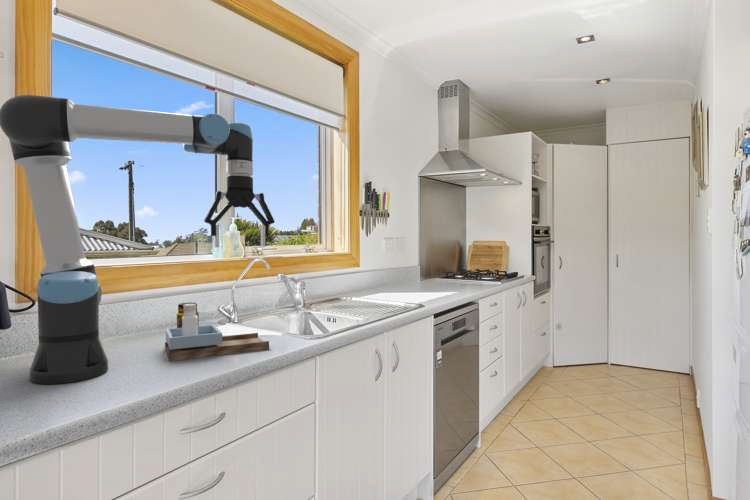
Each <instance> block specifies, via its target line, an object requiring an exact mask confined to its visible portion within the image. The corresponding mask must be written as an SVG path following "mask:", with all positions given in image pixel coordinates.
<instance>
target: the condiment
mask: <svg viewBox="0 0 750 500" xmlns="http://www.w3.org/2000/svg"><path fill="white" fill-rule="evenodd" d="M185 304H196V315H197V316H198V326H200V325H199V322H200V321H199V318H200V317H199V312H198V307H197V306H198V304H197V303H196V302H182V303H179V304H178V305H177V307H178V308H177V314H176V328H182V316H184V309H183V305H185Z"/></svg>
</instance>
